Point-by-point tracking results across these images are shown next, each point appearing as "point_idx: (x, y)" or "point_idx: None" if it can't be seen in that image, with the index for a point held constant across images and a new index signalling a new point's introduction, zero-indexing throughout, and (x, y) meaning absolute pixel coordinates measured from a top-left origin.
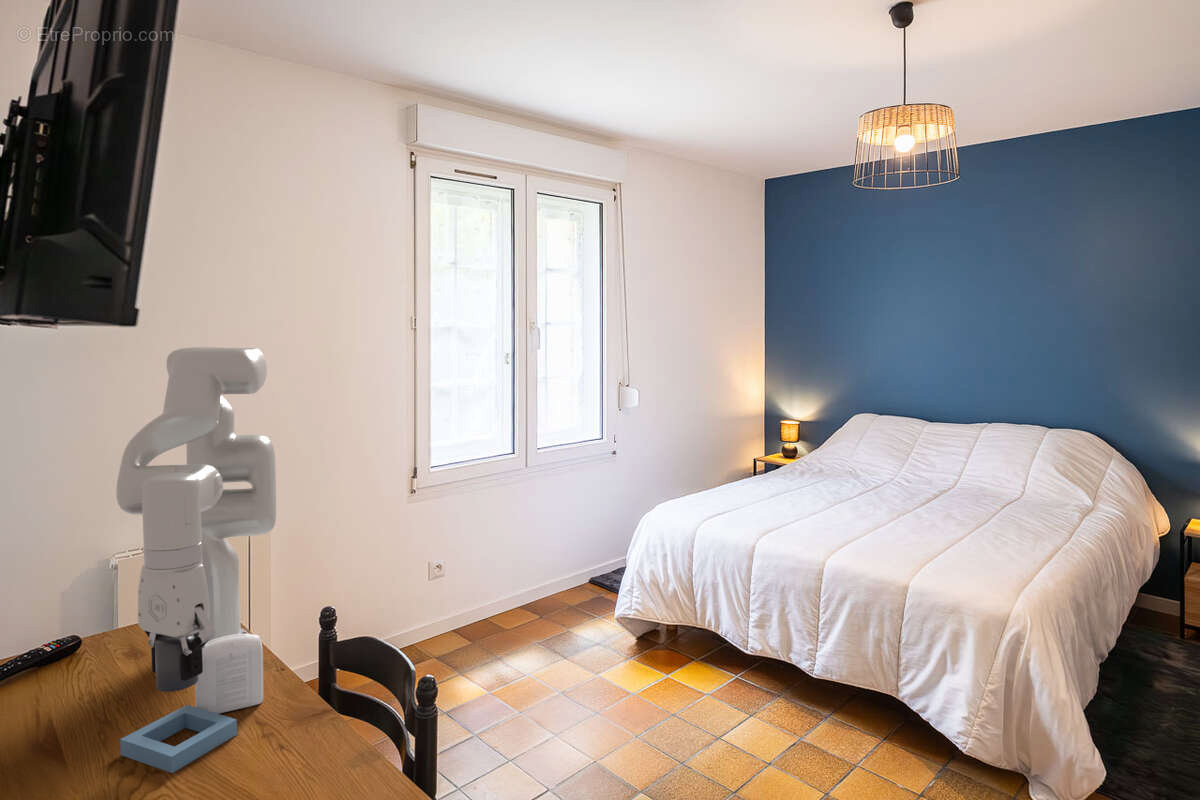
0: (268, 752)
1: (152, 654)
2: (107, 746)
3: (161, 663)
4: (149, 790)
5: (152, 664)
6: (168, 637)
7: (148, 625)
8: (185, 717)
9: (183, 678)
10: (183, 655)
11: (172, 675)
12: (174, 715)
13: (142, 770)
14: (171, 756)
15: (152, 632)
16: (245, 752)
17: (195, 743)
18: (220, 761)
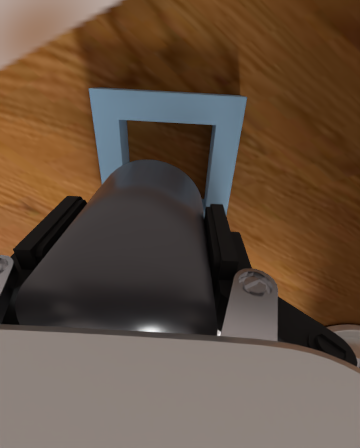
0: (30, 191)
1: (226, 240)
2: (289, 108)
3: (119, 199)
4: (83, 21)
5: (223, 217)
6: (164, 328)
7: (215, 410)
8: (203, 207)
9: (66, 198)
10: (14, 251)
11: (97, 191)
12: (215, 199)
13: (158, 72)
14: (89, 88)
15: (181, 335)
16: (58, 180)
17: (97, 144)
18: (66, 147)
